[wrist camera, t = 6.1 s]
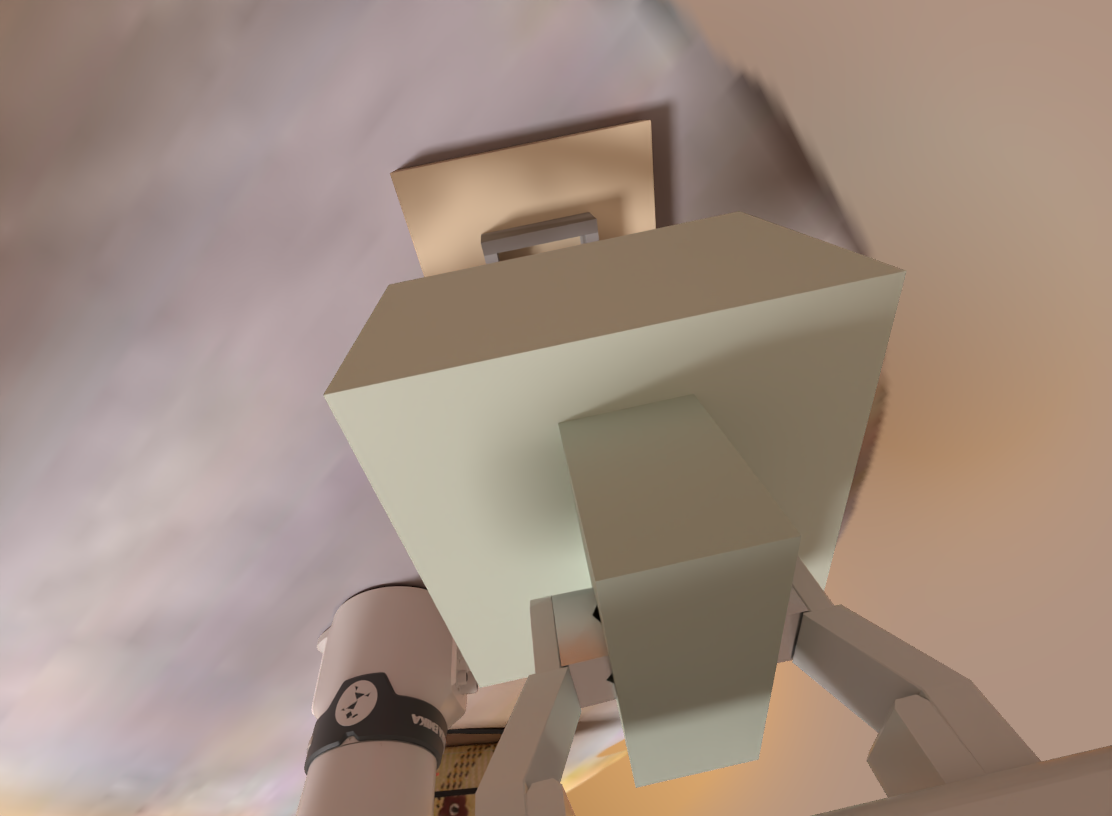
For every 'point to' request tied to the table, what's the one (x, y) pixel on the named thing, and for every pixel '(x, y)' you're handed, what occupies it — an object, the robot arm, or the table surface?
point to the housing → (628, 455)
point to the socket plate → (529, 197)
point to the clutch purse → (462, 775)
